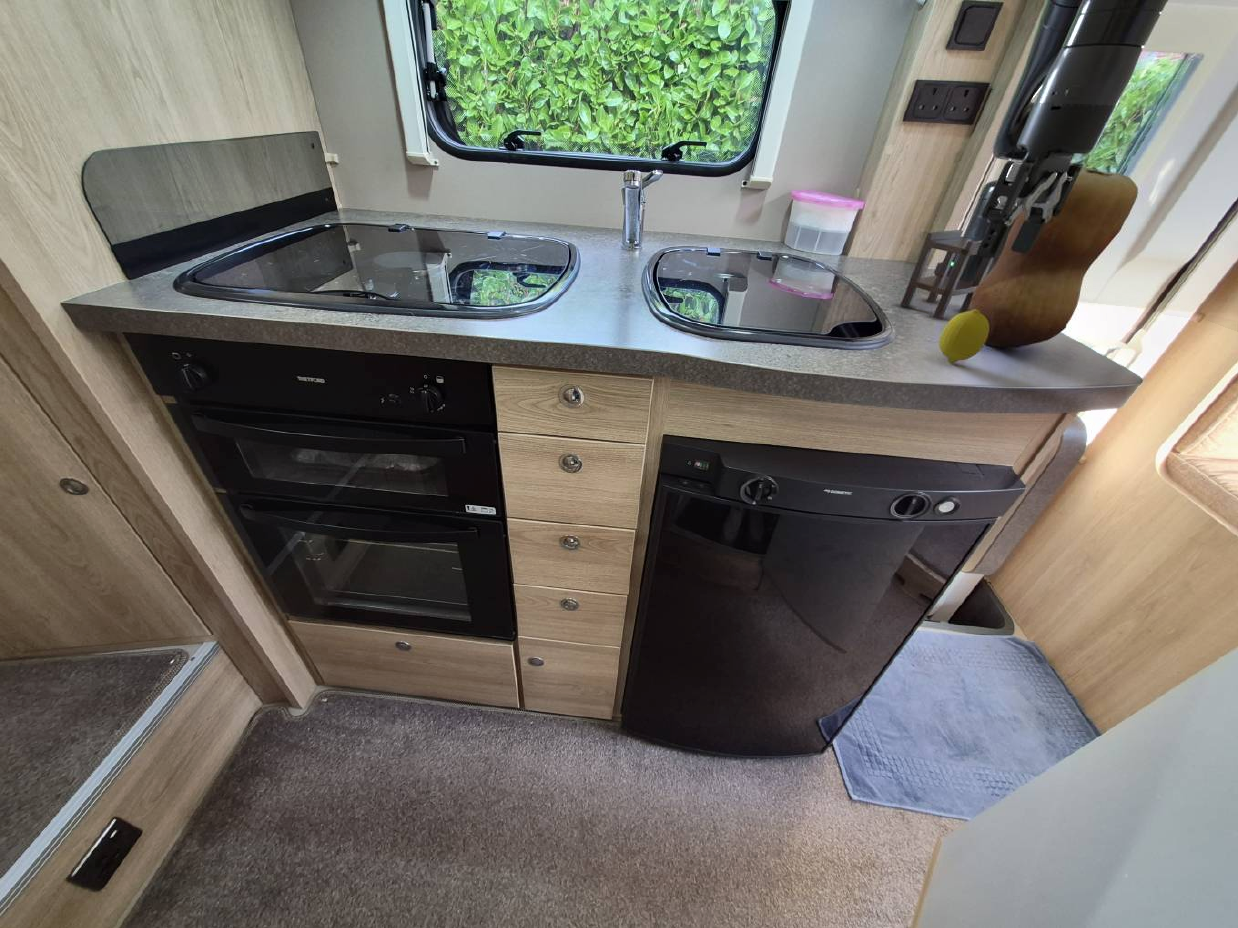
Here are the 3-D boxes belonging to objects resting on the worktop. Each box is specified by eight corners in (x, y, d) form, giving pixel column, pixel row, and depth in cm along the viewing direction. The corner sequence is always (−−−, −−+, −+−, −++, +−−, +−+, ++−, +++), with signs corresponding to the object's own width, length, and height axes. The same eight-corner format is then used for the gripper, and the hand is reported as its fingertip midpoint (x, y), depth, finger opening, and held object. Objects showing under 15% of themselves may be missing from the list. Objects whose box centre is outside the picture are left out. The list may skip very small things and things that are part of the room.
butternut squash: (1050, 369, 73) (1167, 176, 58) (950, 346, 79) (1033, 165, 64) (1045, 342, 83) (1145, 170, 68) (956, 323, 88) (1030, 161, 74)
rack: (899, 306, 96) (927, 232, 88) (929, 300, 100) (959, 229, 92) (938, 319, 90) (972, 242, 82) (968, 312, 94) (1003, 238, 87)
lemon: (925, 361, 73) (949, 308, 69) (937, 352, 76) (961, 301, 72) (966, 374, 70) (993, 319, 65) (976, 363, 73) (1003, 311, 69)
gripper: (1067, 105, 61) (1001, 245, 70) (1007, 97, 54) (944, 252, 64) (1142, 106, 55) (1060, 257, 65) (1085, 97, 49) (1004, 266, 59)
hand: (1002, 254), depth 64 cm, fingers open, 8 cm apart
